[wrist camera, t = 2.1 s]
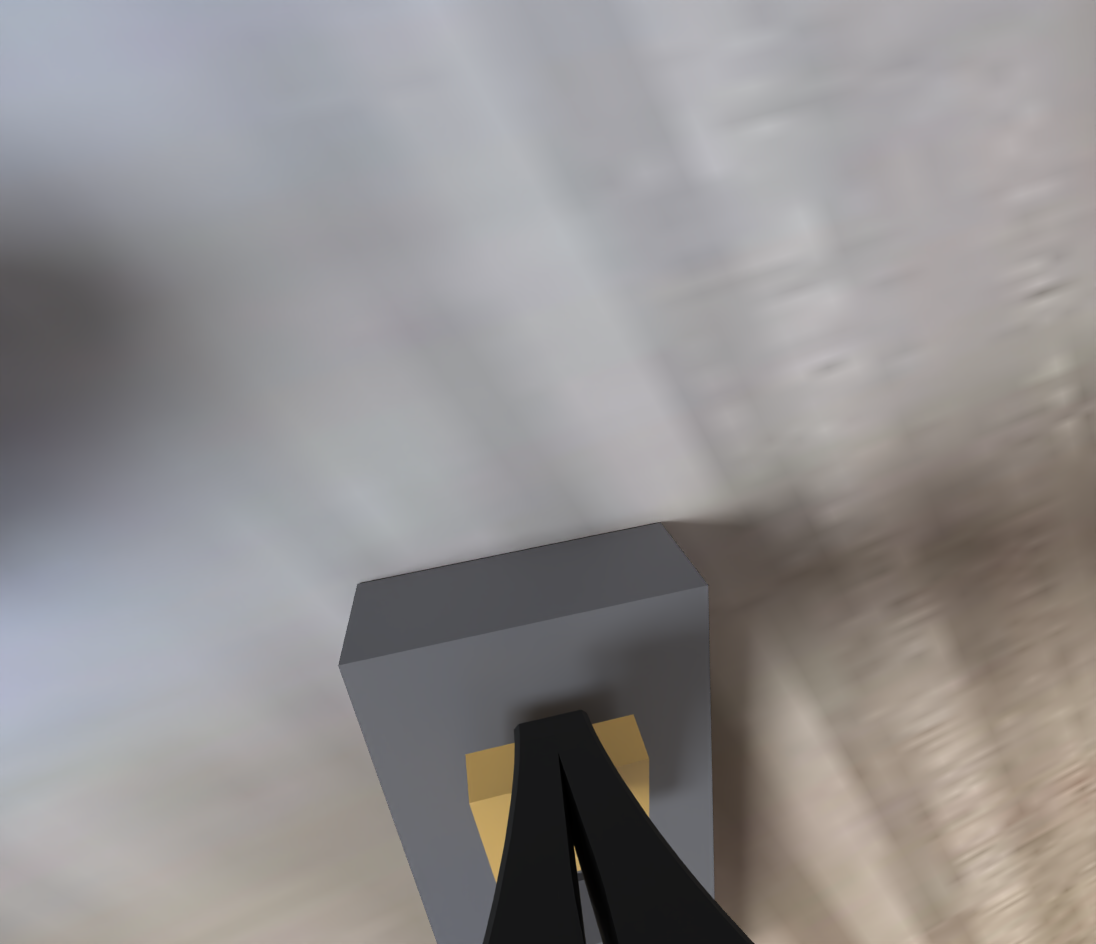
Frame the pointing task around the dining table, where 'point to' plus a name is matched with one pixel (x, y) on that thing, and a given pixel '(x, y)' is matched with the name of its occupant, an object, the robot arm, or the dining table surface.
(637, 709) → the power strip
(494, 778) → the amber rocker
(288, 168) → the dining table surface
